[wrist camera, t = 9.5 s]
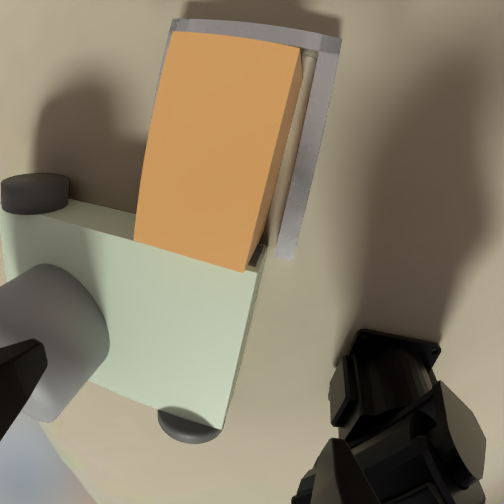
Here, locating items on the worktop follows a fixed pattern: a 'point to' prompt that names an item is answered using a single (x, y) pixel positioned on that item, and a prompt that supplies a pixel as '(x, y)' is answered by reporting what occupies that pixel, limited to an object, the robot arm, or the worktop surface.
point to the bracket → (317, 108)
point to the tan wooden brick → (216, 146)
